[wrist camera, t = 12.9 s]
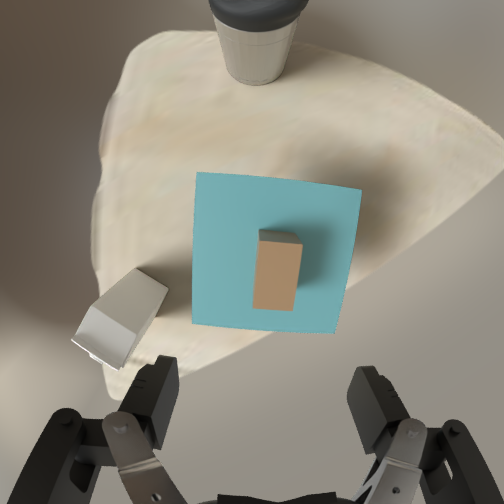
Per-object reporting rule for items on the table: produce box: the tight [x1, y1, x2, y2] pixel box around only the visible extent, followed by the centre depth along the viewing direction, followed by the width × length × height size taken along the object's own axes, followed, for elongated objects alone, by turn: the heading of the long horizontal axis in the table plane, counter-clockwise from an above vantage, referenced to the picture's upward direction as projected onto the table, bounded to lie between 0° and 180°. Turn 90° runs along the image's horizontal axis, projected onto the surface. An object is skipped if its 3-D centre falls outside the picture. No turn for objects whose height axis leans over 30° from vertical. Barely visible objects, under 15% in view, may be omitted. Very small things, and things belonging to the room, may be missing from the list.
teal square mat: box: [192, 172, 362, 333], centre depth 25 cm, size 16×16×5 cm
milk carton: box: [71, 268, 169, 371], centre depth 36 cm, size 7×7×19 cm
